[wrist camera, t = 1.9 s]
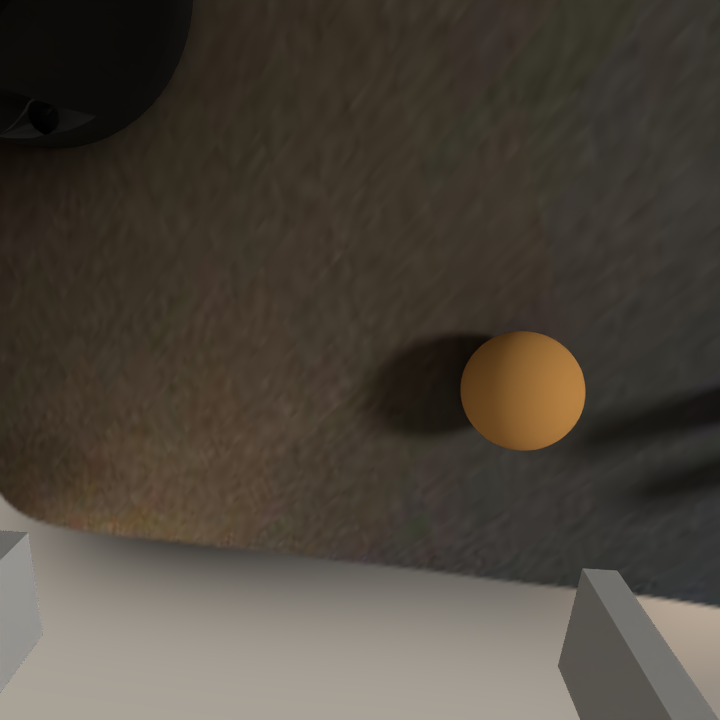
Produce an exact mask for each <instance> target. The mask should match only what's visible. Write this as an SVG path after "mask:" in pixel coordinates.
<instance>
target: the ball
mask: <svg viewBox="0 0 720 720" xmlns="http://www.w3.org/2000/svg"><path fill="white" fill-rule="evenodd" d="M461 400H462V405H463V408H464V410H465V413H466V415H467V417H468V419H469V421H470V422H471V423H472V425H473V426H474V428H475V429H476V430H477V431H478V432H479V433H480V434H481V435H483V436H484V437H485V438H486V439H488V440H489V441H491V442H493V443H495V444H497V445H500V446H502V447H505V448H508V449H514V450H535V449H540V448H543V447H546V446H549V445H551V444H553V443H555V442H557V441H558V440H560V439H561V438H562V437H564V436H565V435H566V434H567V433H568V432H569V431H570V430H571V429H572V428H573V427H574V425H575V424H576V422H577V421H578V419H579V417H580V415H581V413H582V409H583V406H584V401H585V382H584V378H583V374H582V371H581V369H580V367H579V365H578V363H577V361H576V360H575V358H574V357H573V355H572V354H571V353H570V352H569V351H568V350H567V349H566V348H565V347H564V346H563V345H561V344H560V343H559V342H557V341H555V340H554V339H552V338H550V337H547V336H545V335H542V334H539V333H534V332H528V331H516V332H509V333H505V334H502V335H499V336H496V337H494V338H492V339H490V340H489V341H487V342H486V343H484V344H483V345H482V346H480V347H479V348H478V349H477V350H476V351H475V352H474V354H473V355H472V356H471V358H470V359H469V361H468V363H467V365H466V367H465V369H464V372H463V375H462V379H461Z"/></svg>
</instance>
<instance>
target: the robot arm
mask: <svg viewBox="0 0 720 720" xmlns="http://www.w3.org/2000/svg"><path fill="white" fill-rule="evenodd" d="M192 5H193V0H0V141H5V142H10V143H16V144H23V145H29V146H36V147H48V148H62V147H73V146H79V145H84V144H88V143H92V142H95V141H98V140H101V139H103V138H106V137H108V136H110V135H112V134H114V133H116V132H118V131H120V130H122V129H123V128H125V127H126V126H128V125H129V124H131V123H132V122H133V121H135V120H136V119H137V118H138V117H140V116H141V115H142V114H143V113H144V112H145V111H146V110H147V109H148V108H149V107H150V106H151V105H152V104H153V103H154V101H155V100H156V99H157V98H158V97H159V95H160V94H161V93H162V91H163V90H164V88H165V87H166V85H167V84H168V82H169V80H170V78H171V77H172V75H173V73H174V71H175V69H176V67H177V65H178V62H179V60H180V57H181V55H182V52H183V49H184V46H185V42H186V39H187V35H188V31H189V26H190V21H191V14H192ZM42 635H43V632H42V625H41V618H40V612H39V605H38V598H37V591H36V584H35V577H34V571H33V563H32V557H31V550H30V543H29V536H28V533H27V532H12V531H0V693H1V691H2V690H3V689H4V687H5V686H6V684H7V683H8V682H9V680H10V679H11V678H12V676H13V675H14V673H15V672H16V671H17V669H18V668H19V666H20V665H21V664H22V662H23V661H24V660H25V658H26V657H27V656H28V654H29V653H30V651H31V650H32V649H33V647H34V646H35V645H36V643H37V642H38V640H39V639H40V638H41V636H42ZM558 667H559V669H560V672H561V674H562V677H563V679H564V681H565V684H566V686H567V688H568V691H569V693H570V696H571V698H572V701H573V703H574V705H575V708H576V710H577V713H578V715H579V717H580V720H718V718H717V716H716V715H715V714H714V712H713V711H712V709H711V707H710V706H709V705H708V703H707V702H706V700H705V699H704V697H703V696H702V694H701V693H700V691H699V690H698V688H697V687H696V685H695V684H694V683H693V681H692V680H691V678H690V677H689V676H688V674H687V672H686V671H685V669H684V668H683V666H682V665H681V663H680V662H679V661H678V659H677V658H676V656H675V655H674V653H673V652H672V650H671V649H670V647H669V646H668V644H667V643H666V641H665V640H664V639H663V637H662V636H661V634H660V633H659V631H658V630H657V628H656V627H655V625H654V624H653V622H652V621H651V619H650V618H649V616H648V615H647V614H646V612H645V611H644V609H643V608H642V606H641V605H640V604H639V602H638V600H637V599H636V597H635V596H634V594H633V593H632V592H631V590H630V589H629V587H628V586H627V584H626V583H625V581H624V580H623V578H622V577H621V575H620V574H619V572H618V571H612V570H597V569H582V573H581V577H580V581H579V585H578V589H577V593H576V597H575V601H574V605H573V609H572V613H571V616H570V620H569V624H568V628H567V633H566V637H565V641H564V644H563V648H562V653H561V656H560V660H559V664H558Z"/></svg>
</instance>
